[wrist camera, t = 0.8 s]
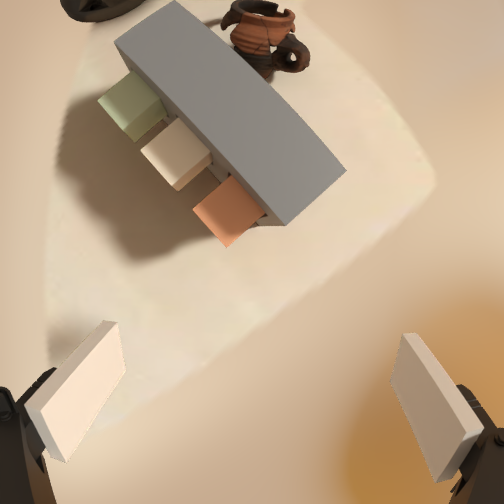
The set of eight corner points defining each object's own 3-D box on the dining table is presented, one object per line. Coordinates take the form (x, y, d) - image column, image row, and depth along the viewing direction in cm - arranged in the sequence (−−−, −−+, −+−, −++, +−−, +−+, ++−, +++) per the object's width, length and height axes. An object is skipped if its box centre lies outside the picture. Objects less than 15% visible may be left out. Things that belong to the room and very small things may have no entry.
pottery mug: (199, 62, 34) (206, 4, 27) (245, 41, 38) (256, -8, 31) (281, 105, 32) (302, 42, 25) (319, 78, 37) (340, 26, 29)
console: (146, 101, 33) (113, 41, 19) (186, 70, 33) (174, 0, 19) (259, 226, 36) (285, 225, 22) (299, 190, 36) (346, 170, 22)
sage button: (111, 116, 27) (97, 100, 23) (150, 83, 28) (141, 63, 23) (134, 142, 28) (122, 129, 24) (175, 108, 28) (168, 90, 24)
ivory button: (150, 160, 28) (140, 150, 24) (191, 125, 28) (187, 109, 24) (178, 191, 29) (171, 185, 24) (219, 155, 29) (219, 144, 25)
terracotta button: (195, 211, 29) (192, 209, 25) (237, 175, 29) (240, 167, 25) (225, 244, 30) (226, 247, 25) (266, 208, 30) (274, 205, 25)
